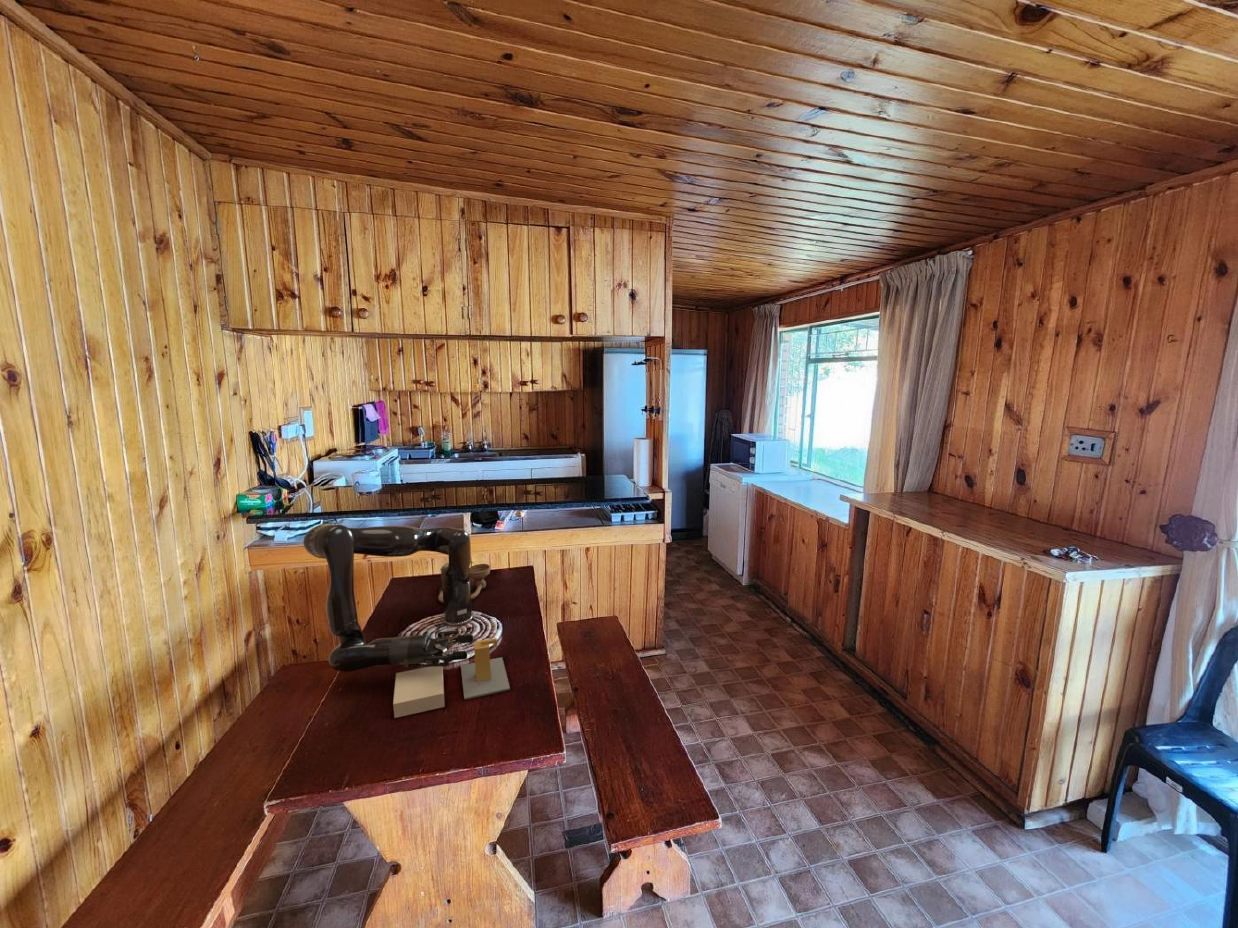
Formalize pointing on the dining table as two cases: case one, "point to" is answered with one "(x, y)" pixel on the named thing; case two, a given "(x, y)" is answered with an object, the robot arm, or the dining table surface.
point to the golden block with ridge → (483, 659)
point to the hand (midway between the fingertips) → (470, 646)
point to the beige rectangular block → (418, 691)
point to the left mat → (487, 686)
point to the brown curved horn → (475, 573)
